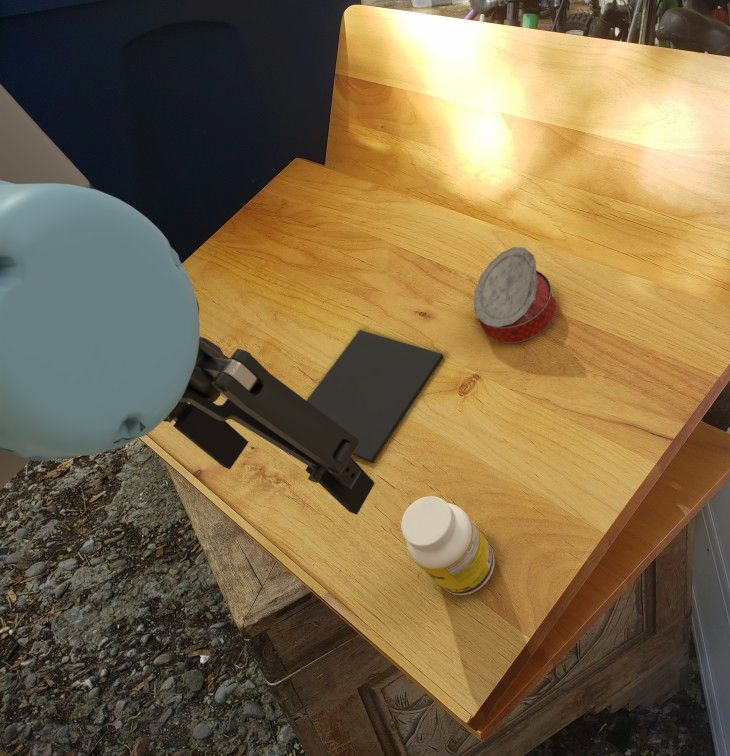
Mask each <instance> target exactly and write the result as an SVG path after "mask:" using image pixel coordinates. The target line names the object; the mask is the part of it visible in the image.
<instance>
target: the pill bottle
mask: <svg viewBox="0 0 730 756" xmlns="http://www.w3.org/2000/svg"><path fill="white" fill-rule="evenodd" d="M400 527H401V528H400V529H401V533H402V536H403V537H404V540H405V544H406V549H407V552H408V554H409V556H410V557H411V559H412V560H413V561H414V562H415V563H416V564H417V566H419V567H420V568H421V569H422V570H423V571H424V572H425V573H426V574H427V575H428V576H429V577H431V579H433V581H435V583H437V584H438V585H439V587H441V588H442V589H443V590H444V591H446V592H448V593H450V594H452V595H455V596H466V595H471V594H473V593H476V592H477V591H479V590H480V589H482V588H483V587H484V586H485V585H486V584H487V583H488V582H489V580H490V578H491V576H492V574H493V572H494V569H495V554H494V551H493V548H492V546H491V545H490V543H489V542H488V541H487V539H486V537H485V536H484V535H483V534H482V532H481V531H480V530H479V529H478V527H477V526H476V525H475V523H474V522H473V521H472V519H471V518H470V517H469V515H468V514H467V513H466V512H465V511H464V510H463V509H462V508H461V507H460V506H458V505H456V504H454V503H450V502H446V501H445V500H444V499H443V498H441V497H438V496H435V495H434V496H432V495H427V496H423V497H420V498H418V499H416V500H415V501H413V502H412V503H411V504H410V505H409V506H408V507H407V508H406V510H405V511H404V513H403V515H402V518H401V523H400Z"/></svg>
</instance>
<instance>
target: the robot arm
mask: <svg viewBox="0 0 730 756" xmlns="http://www.w3.org/2000/svg"><path fill="white" fill-rule="evenodd" d="M200 324H201V323H200V305H199V301H198V299H197V295H196V291H195V289H194V285H193V283H192V280H191V278H190V275H189V274H188V272H187V269H186V268H185V266H184V265H183V264H182V262H181V260H180V257H179V254H178V253H177V252H176V250H175V249H174V248H173V247H172V246H171V244H170V242H169V240H168V238H167V237H166V236H165V234H163V232H162V231H161V230H160V228H158V227H157V226H156V225H155V224H154V223H153V222H152V221H151V220H150V219H149V218H148V217H147V216H145V215H144V214H143V213H141V212H140V211H138V209H136V208H135V207H133V206H131V204H130V205H129V204H128V203H127V202H125V201H123V200H122V199H119V198H117V197H115V196H113V195H110V194H108V193H105V192H103V191H100V190H99V189H96V188H95V187H94V186H93V185H92V184H91V183H90V181H89V180H88V179H87V177H86V176H85V175H83V173H82V172H81V171H80V170H79V168H77V166H75V165H74V163H73V162H72V161H71V160H70V159H69V158H68V157H67V156H66V155H65V154H64V152H63V151H62V150H61V149H60V148H59V147H58V146H57V145H56V144H55V143H54V142H53V141H52V139H51V138H50V137H49V136H48V135H47V134H46V133H45V132H44V131H43V130H42V129H41V127H40V126H39V125H38V124H37V123H36V122H35V121H34V120H33V118H32V117H31V116H30V115H29V114H28V113H27V112H26V111H25V109H24V108H22V106H21V105H20V104H19V103H18V102H17V101H16V99H14V98H13V96H12V95H11V93H9V92H8V91H7V89H5V87H4V86H3V85H2V84H1V83H0V491H1V490H2V489H3V488H4V487H5V486H6V485H7V484H8V483H9V482H10V481H11V480H12V479H13V478H14V477H15V476H16V475H17V474H19V473H20V472H21V471H22V469H23V468H24V467H26V466H27V465H28V464H29V463H30V462H31V461H35V462H45V463H46V462H50V461H52V460H53V459H54V460H55V459H58V460H70V459H73V458H77V457H85V456H94V455H97V454H102V453H106V452H110V451H114V450H117V449H119V448H121V447H124V446H126V445H128V444H130V443H132V442H134V441H135V440H137V439H139V438H143V437H145V436H146V435H148V434H150V433H151V432H152V431H153V430H155V429H156V428H157V427H158V426H159V425H160V424H161V423H162V422H164V423H165V422H167V423H169V424H170V423H172V421H174V422H175V423H174V424H173V425H172V427H173V428H174V429H176V430H177V431H179V433H181V434H182V435H183V436H184V437H186V438H187V440H189V441H191V443H193V444H194V445H196V447H198V448H199V449H201V450H202V451H203V452H204V453H205V454H207V456H209V457H210V458H211V459H213V460H214V461H215V462H217V463H218V464H219V465H220V466H222V467H223V468H225V469H227V470H231V469H232V467H233V466H234V464H235V463H236V461H237V460H238V459H239V457H240V456H241V454H242V453H243V451H244V450H245V449H246V447H247V445H248V444H249V441H248V440H247V439H246V438H245V437H244V436H243V435H241V434H240V433H239V432H238V431H237V430H236V429H235V428H234V427H233V426H232V425H230V423H229V422H227V421H228V420H232V421H234V422H236V423H237V424H238V425H240V426H242V427H244V428H245V429H247V430H249V431H250V432H252V433H253V434H255V435H257V436H258V437H260V438H262V439H263V440H265V441H267V442H268V443H269V444H271V445H273V446H275V447H277V448H278V449H280V450H281V451H283V452H285V453H286V454H288V455H289V456H291V457H293V458H294V459H296V460H298V461H300V462H301V463H302V464H304V465H306V468H305V472H306V473H307V474H309V476H308V478H307V480H309V481H311V482H312V483H317V484H319V485H320V486H321V487H322V488H323V489H324V490H325V491H327V492H328V494H329V495H330V496H332V497H333V499H335V500H336V501H337V502H338V503H339V504H340V505H341V506H342V508H344V509H345V510H346V511H348V513H351V514H354V515H358V514H359V512H360V511H361V509H362V508H363V505H364V503H365V501H366V500H367V498H368V496H369V494H370V492H371V491H372V489H373V488H374V486H375V484H376V482H375V481H374V480H373V479H372V478H371V477H370V476H369V475H368V473H367V472H366V471H365V470H364V469H363V468H362V467H361V466H360V465H359V464H358V463H357V461H356V460H355V459H354V458H353V457H352V456H354V455H353V453H354V451H355V450H356V448H357V446H358V445H359V440H358V439H356V437H355V436H353V435H351V434H350V433H349V432H347V431H346V430H345V429H343V428H342V427H341V426H339V425H338V424H337V423H335V422H334V421H333V420H331V419H330V418H329V417H327V416H326V415H325V414H323V413H322V412H321V411H319V410H318V409H317V408H315V407H314V406H313V405H311V404H310V403H309V402H307V399H305V398H303V397H302V396H301V395H300V394H298V393H297V392H295V391H294V390H293V389H291V388H290V387H289V386H287V385H286V384H285V383H284V382H282V381H281V380H279V379H278V378H277V377H276V376H274V375H273V374H271V372H270V371H268V370H267V369H266V368H265V367H264V366H263V365H262V364H261V363H260V362H259V361H258V360H257V359H256V358H255V357H254V356H253V355H252V353H250V352H249V351H247V350H244V349H241V348H237V349H235V351H234V352H233V353H232V355H231V356H230V357H228V356H227V355H226V354H224V353H223V350H222V349H221V347H220V346H218V345H217V344H215V343H214V342H213V341H211V340H209V339H207V338H205V337H204V336H200V335H201V334H200V332H201V330H200V327H201V326H200ZM220 397H223V398H224V399H226V400H225V401H224V403H222V404H220V405H219V404H216V403H215V402H216V401H217V400H218V399H219V398H220Z"/></svg>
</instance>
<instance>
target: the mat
mask: <svg viewBox="0 0 730 756" xmlns="http://www.w3.org/2000/svg"><path fill="white" fill-rule="evenodd" d="M443 359H444V355H443V353H440V352H437V351H434V350H430V349H426V348H423V347H419V346H416V345H413V344H411V343H410V344H409V343H405V342H402V341H399V340H395V339H392V338H390V337H389V338H388V337H385V336H382V335H379V334H375V333H372V332H368V331H365V330H361V329H359V330H358V331H357V333H356V334H355V335H354V337H353V338H352V339H351V341H350V342H349V343H348V344H347V346H346V347H345V349H344V350H343V351H342V353H340V355H339V356H338V358H337V359H336V361H335V362H334V363H333V365H332V366H331V368H329V370H328V371H327V373H326V374H325V375H324V376H323V378H322V379H321V380H320V382H319V384H317V386H316V387H315V388H314V389H313V392H312V393H311V394H310V395H309V397H307V399H306V401H307V402H309V403H310V404H311V405H313V406H314V407H315V408H317V409H318V410H319V411H321V412H322V413H323V414H325V415H326V416H327V417H329V418H330V419H331V420H333V421H334V422H335V423H337V424H338V425H339V426H341V427H342V428H343V429H345V430H346V431H347V432H349V433H350V434H351V435H353V436H355V437H356V439H358V440H359V445H358V446H357V448H356V450H355V451H354V453H353V455H352V456H354V457H358V458H360V459H362V460H364V461H367V462H369V463H374V462H375V460H376V458H377V457H378V455H379V454H380V452H382V450H383V448H384V447H385V445H386V443H387V442H388V441H389V439H390V438H391V436H392V434H393V433H394V431H395V430H396V429H397V427H398V426H399V424H400V423H401V421H402V419H403V418H404V417H405V415H406V414H407V412H408V411H409V409H410V408H411V406H412V405H413V403H414V402H415V400H416V399H417V397H418V396H419V394H420V393H421V391H422V390H423V388H424V387H425V386H426V384H427V382H428V381H429V380H430V378H431V376H432V375H433V374H434V372H435V371H436V369H437V367H438V366H439V364H440V363H441V361H442V360H443Z"/></svg>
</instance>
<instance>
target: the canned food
mask: <svg viewBox="0 0 730 756" xmlns="http://www.w3.org/2000/svg"><path fill="white" fill-rule="evenodd" d="M473 311H474V314H475V316H476V317H477V320H478V322H479V324H480V326H481V329H482V331H483V332H484V334H485V335H486V336H487V337H489V338H490V339H491V340H493V341H496V342H498V343H503V344H517V343H522V342H526V341H528V340H531V339H533V338H535V337H537V336H538V335H540V334H542V333H543V332H544V331H545V330H546V329H547V328H548V327H549V326H550V325H551V323H552V321H553V320H554V318H555V315H556V312H557V301H556V297H555V296H554V292H553V290H552V285H551V283H550V280H549V278H548V277H547V276H546V275H545V274H543V272H540V271H538V270H537V260H536V258H535V256H534V254H533V253H531V252H530V251H529V249H527V248H526V247H520V246H512V247H511V248H509V249H506V250H504V251H502V252H500V253H499V254H498V255H497V256H496V257H495V258H494V259H493V260H491V261H490V262H489V263H488V265H487V266H486V268H485V269H484V271H482V273H481V274H480V276H479V279H478V282H477V284H476V287H475V290H474V300H473Z"/></svg>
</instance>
